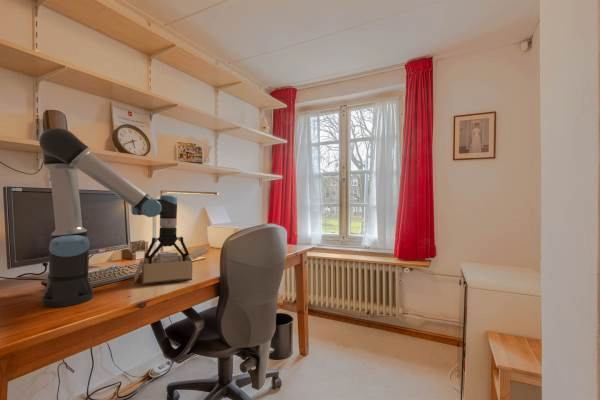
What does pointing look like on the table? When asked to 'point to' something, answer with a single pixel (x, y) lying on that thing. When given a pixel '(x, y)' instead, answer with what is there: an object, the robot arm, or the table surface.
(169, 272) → the carton
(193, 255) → the flap
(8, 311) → the table surface
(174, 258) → the ink box
